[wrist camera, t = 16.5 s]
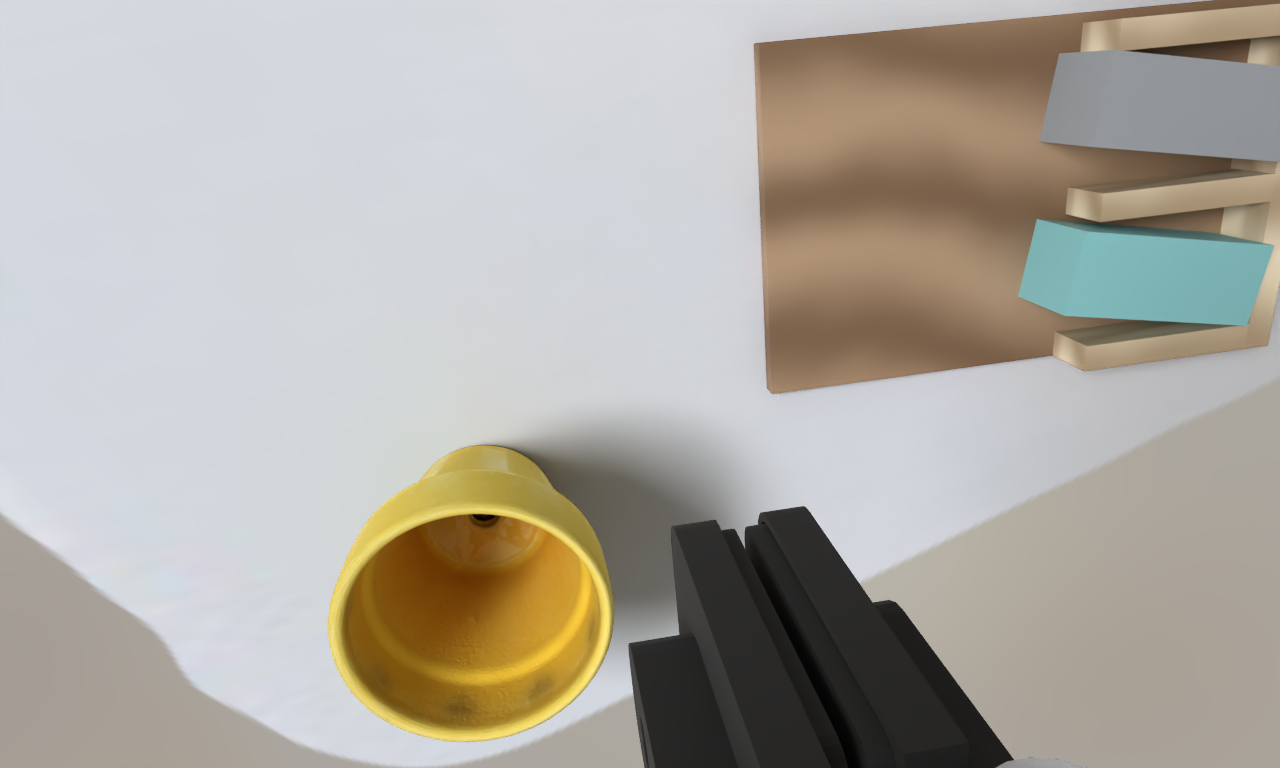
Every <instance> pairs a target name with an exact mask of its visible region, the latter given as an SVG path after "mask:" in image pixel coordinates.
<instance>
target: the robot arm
mask: <svg viewBox="0 0 1280 768" xmlns="http://www.w3.org/2000/svg"><path fill="white" fill-rule="evenodd" d="M671 542H672V554H673V565H674V577H675V588H676V600H677V611H678V622H679V634H680V635H677V636H671V637H665V638H659V639H653V640H647V641H641V642H635V643H629V658H630V667H631V676H632V685H633V693H634V700H635V709H636V716H637V721H638V722H637V723H638V730H639V737H640V742H641V749H642V755H643V761H644V767H645V768H1087V767H1084V766H1081V765H1077V764H1073V763H1070V762H1066V761H1062V760H1059V759H1049V758H1035V757H1029V758H1023V759H1017V760H1014V759H1013V758H1012V757H1011V755H1010V754H1009V752H1008V751H1007V750H1006V748H1005V747H1004V746H1003V744H1002V743H1001V742H1000V740H999V739H998V738H997V736H996V735H995V734H994V732H993V731H992V729H991V728H990V727H989V725H988V724H987V723H986V721H985V720H984V719H983V717H982V716H981V715H980V713H979V712H978V711H977V709H976V708H975V706H974V705H973V704H972V702H971V701H970V700H969V698H968V697H967V696H966V694H965V693H964V692H963V690H962V689H961V688H960V686H959V685H958V684H957V683H956V681H955V680H954V678H953V677H952V676H951V674H950V673H949V671H948V670H947V669H946V667H945V666H944V665H943V663H942V662H941V661H940V659H939V658H938V657H937V655H936V654H935V652H934V651H933V650H932V649H931V647H930V646H929V645H928V643H927V642H926V641H925V639H924V638H923V636H922V635H921V634H920V632H919V631H918V630H917V628H916V627H915V626H914V624H913V623H912V621H911V620H910V619H909V618H908V616H907V615H906V613H905V612H904V611H903V609H902V608H901V607H900V606H899V605H898V604H897V603H896V602H893V601H890V600H886V601H880V602H874V603H872V601H871V600H870V598H869V597H868V595H867V594H866V593H865V591H864V590H863V588H862V587H861V585H860V584H859V582H858V581H857V580H856V578H855V577H854V575H853V574H852V572H851V571H850V569H849V568H848V567H847V565H846V564H845V562H844V561H843V559H842V558H841V556H840V555H839V554H838V552H837V551H836V549H835V548H834V546H833V545H832V543H831V542H830V541H829V539H828V538H827V536H826V535H825V533H824V532H823V530H822V529H821V528H820V526H819V525H818V523H817V522H816V520H815V519H814V517H813V516H812V515H811V513H810V512H809V510H808V509H807V508H806V507H803V506H802V507H795V508H788V509H782V510H775V511H769V512H762V513H760V515H759V519H758V525H754V526H748V527H746V529H745V548H744V546H743V544H742V542H741V540H740V538H739V536H738V534H737V532H736V531H735V529H728V530H722V531H721V529H720V527H719V525H718V523H717V521H716V520H710V521H704V522H697V523H690V524H684V525H677V526H672V528H671Z"/></svg>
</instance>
